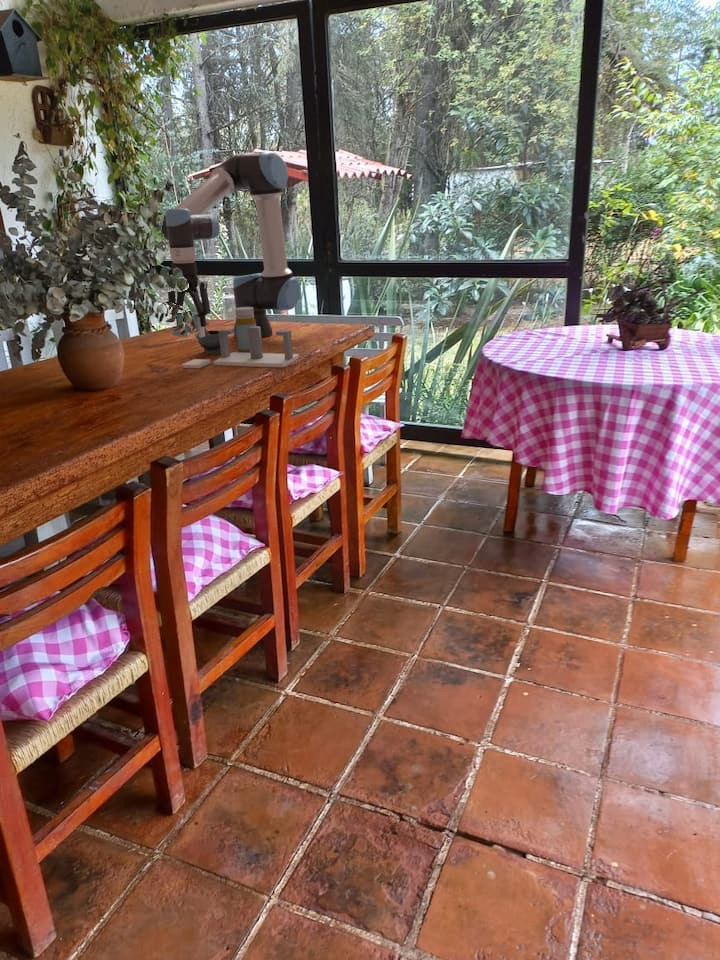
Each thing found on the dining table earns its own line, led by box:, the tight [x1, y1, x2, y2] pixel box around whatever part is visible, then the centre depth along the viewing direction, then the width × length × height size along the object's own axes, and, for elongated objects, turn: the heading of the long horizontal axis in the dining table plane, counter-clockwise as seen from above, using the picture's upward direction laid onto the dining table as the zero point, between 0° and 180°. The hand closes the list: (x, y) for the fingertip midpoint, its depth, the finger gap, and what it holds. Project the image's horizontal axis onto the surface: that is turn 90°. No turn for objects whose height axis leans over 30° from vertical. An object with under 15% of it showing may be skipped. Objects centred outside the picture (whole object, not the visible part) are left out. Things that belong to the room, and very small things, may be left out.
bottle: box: [234, 307, 256, 353], centre depth 243 cm, size 7×7×15 cm
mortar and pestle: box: [196, 327, 221, 355], centre depth 244 cm, size 11×9×12 cm
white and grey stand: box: [213, 326, 300, 368], centre depth 228 cm, size 14×24×11 cm, turn 73°
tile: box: [181, 358, 212, 369], centre depth 228 cm, size 8×6×1 cm
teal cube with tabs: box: [172, 311, 210, 337], centre depth 223 cm, size 6×19×5 cm, turn 163°
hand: (192, 336), depth 224 cm, fingers closed on teal cube with tabs, 6 cm apart
